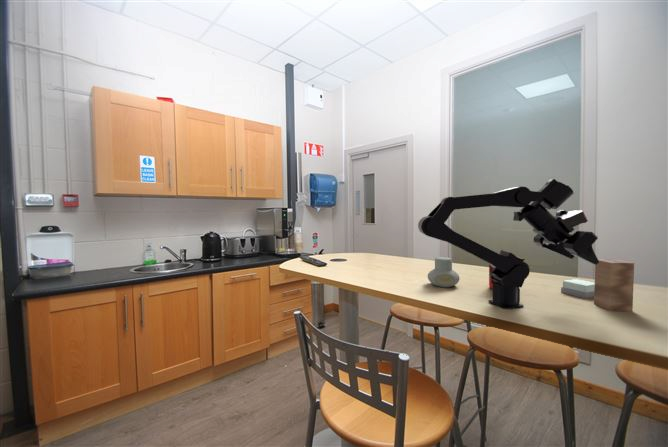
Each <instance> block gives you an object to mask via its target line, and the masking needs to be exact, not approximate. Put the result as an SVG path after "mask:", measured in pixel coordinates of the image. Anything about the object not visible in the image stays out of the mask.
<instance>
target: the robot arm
mask: <svg viewBox="0 0 668 447" xmlns="http://www.w3.org/2000/svg"><path fill="white" fill-rule="evenodd" d="M574 194H575V193H574V190H573V189H572V187H570V186H569V185H566V184H565V183H562V182H561V181H557V180H556V179H555V178H552V179H549V180H547V181H546V183H545V184H544V185H543V186H542V187H541V188H539V190H538V191H534V190H530V188H528V187H527V186H516V187H509V188H505V189H502V190H498V191H496V192H491V193H483V194H474V195H473V194H471V195H463V196H447V197H444V198H442V199H441V200H440V202H439V203H438V205H436V207H434V209H432V210H431V211H430V212H429V214H428V215H427V216H423V217H422V218H420V219H419V221H418V223H417V228H418V230H419V232H420V233H421V234H422V235H424V236H427V237H429V238H433V239H436V240H439V241H443V242H446V243H448V244H451V245H453V246H454V247H456V248H459V249H460V250H462V251H464V252H466V253H468V254H470V255H472V256H474V257H476V258H478V259H479V260H482V261H484V262H486V263H488V265H489V264H490V265H491V266H492V267H493V268H495V269H494V270H493V271H492V272H490V277H491V279H492V280H494V281H495V283H493V290H492V299H489V300H488V301H487V302H488V303H491V304H493V305H495V306H498V307H500V308H502V309H514V308H523V307H524V304H523V303H520V300H521V299H520V296H521V295H520V294H521V290H520V288H523V285H524V282H525V280H526V279H527V278H528V277H529V276H530V270H531V269H530V265H528V263H527V262H525V258H521V257H519V256H517V255H515V254H514V253H512V252H510V251H506V250H503V249H500V252H499V253H498V252H496V251H493V249H489V248H488V247H486V246H484V245H482V244H480V243H478V242H476V241H474V240H473V239H471V238H468V237H465V235H462V234H460V233H458V232H456V231H455V230H453V229H452V228H451V227H449V226H448V225H447V224H446V221H447V220H448V219H449V218H450V216H451V214H453V212H454V210H465V209H474V208H475V209H476V208H485V207H499V208H521V209H519V211H513V217H512V218H513V219H512V220H513V221H514V222H521V221H523V220H524V221H525V222H526V223H527V224H528V225H530V226H531V227H532V228H533V229H532V232H534V233H535V234H536V235H535V236H534V237H533V242H534V244H536V246H538V247H541V248H542V249H546V250H548V251H551V252H553V253H556V254H558V255H561V256H563V257H566V258H568V259H571V260H573V259H574V258H575V257H577V258H579V259H581V260H584V261H585V262H588V263H590V264H593V265H594V266H595V265H597V264H598V263H599V261H598V257H597V255H596V253H595V251H594V248H593V244H595V242H596V241H597V240H598V236H597V235H596V234H595V232H593V231H588V230H587V231H585V230H576V232H574V233H573V231H575V227H577V226H579V225H581V224H586V223H588V222H589V220H588V218H587V216H586V215H585V212H584V211H583V210H569V211H567V210H564V209H560V210H558V208H559V207H561V206H562V205H563V204H564V203H565V202H566V201H567V200H569V199H570V198H571V197H572V196H573V195H574ZM551 209H552V210H558V211H556V212H555V216H554V215H553V214H552V213H551V212H550V211H549V210H551ZM571 233H573V234H571Z"/></svg>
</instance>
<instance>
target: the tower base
mask: <svg viewBox="0 0 668 447" xmlns="http://www.w3.org/2000/svg"><path fill="white" fill-rule="evenodd" d="M560 293H561V294H566V295H569V296H573V297H579V298H580V299H581V298H582V299H589V298H590V299H591V298H594V292H588V293H585V292H580V291H576V290H572V289H567V288H563V286H562V287H560Z"/></svg>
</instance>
